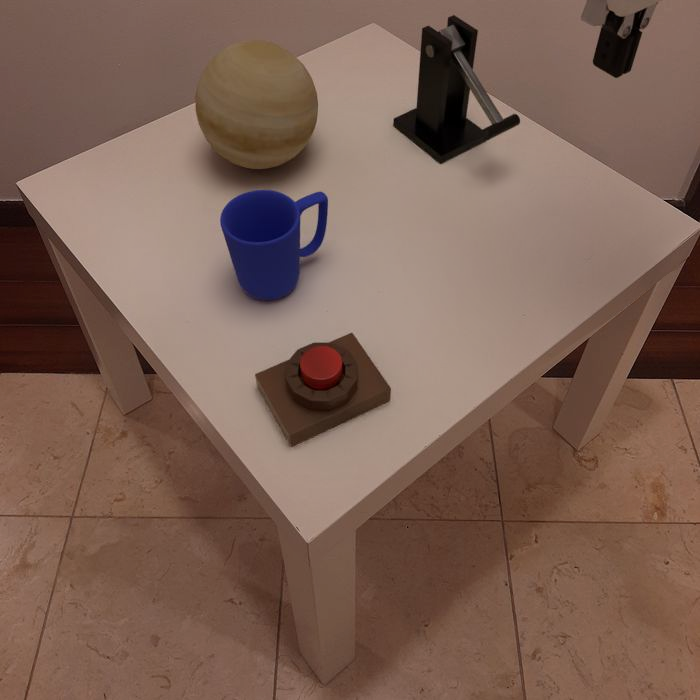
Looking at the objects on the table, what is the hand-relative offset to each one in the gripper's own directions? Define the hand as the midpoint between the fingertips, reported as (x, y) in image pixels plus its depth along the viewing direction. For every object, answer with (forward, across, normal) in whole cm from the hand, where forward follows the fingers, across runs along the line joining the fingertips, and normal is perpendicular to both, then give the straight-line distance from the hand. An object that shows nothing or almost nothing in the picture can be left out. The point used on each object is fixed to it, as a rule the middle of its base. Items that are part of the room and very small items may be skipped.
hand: (610, 68), depth 68 cm
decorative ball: (+22, -19, +35) cm, 46 cm away
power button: (+19, -34, -1) cm, 39 cm away
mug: (+23, -28, +15) cm, 40 cm away
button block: (+23, -34, -1) cm, 41 cm away
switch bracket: (+22, +2, +25) cm, 34 cm away
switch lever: (+13, +2, +20) cm, 25 cm away
